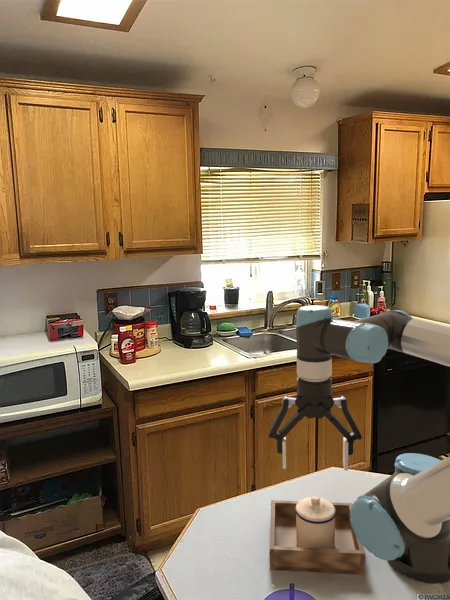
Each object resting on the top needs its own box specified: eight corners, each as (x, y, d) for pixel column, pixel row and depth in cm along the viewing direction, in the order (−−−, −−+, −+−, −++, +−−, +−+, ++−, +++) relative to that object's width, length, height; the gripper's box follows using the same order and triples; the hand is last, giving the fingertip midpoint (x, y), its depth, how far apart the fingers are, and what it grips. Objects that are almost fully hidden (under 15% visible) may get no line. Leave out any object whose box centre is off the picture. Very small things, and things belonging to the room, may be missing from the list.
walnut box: (352, 521, 117) (352, 503, 116) (364, 574, 99) (365, 553, 99) (271, 518, 119) (271, 500, 119) (270, 569, 102) (269, 549, 101)
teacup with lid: (343, 551, 105) (344, 504, 103) (307, 562, 102) (307, 513, 100) (316, 520, 116) (316, 477, 114) (283, 529, 113) (282, 484, 112)
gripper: (369, 371, 105) (368, 459, 108) (257, 371, 108) (260, 457, 111) (376, 382, 98) (374, 477, 101) (256, 381, 100) (258, 473, 104)
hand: (314, 466), depth 106 cm, fingers open, 13 cm apart
